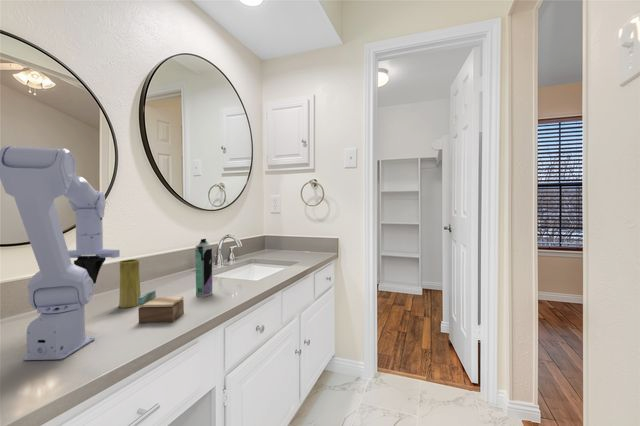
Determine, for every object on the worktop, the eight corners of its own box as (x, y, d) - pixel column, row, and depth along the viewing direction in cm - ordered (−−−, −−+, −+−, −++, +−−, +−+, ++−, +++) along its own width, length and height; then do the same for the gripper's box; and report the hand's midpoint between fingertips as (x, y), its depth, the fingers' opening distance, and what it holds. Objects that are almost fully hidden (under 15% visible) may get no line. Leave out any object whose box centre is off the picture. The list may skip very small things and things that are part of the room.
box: (172, 322, 79) (172, 307, 79) (138, 323, 79) (138, 308, 79) (183, 313, 86) (183, 299, 86) (152, 313, 86) (152, 300, 86)
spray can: (212, 295, 103) (211, 239, 103) (195, 297, 101) (194, 239, 101) (212, 291, 108) (211, 237, 108) (196, 293, 106) (195, 238, 106)
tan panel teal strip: (172, 306, 79) (172, 297, 79) (138, 307, 79) (138, 297, 79) (183, 298, 86) (183, 289, 86) (152, 299, 86) (152, 290, 86)
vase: (130, 308, 90) (129, 262, 90) (113, 307, 92) (112, 262, 91) (145, 302, 96) (145, 259, 96) (130, 301, 97) (129, 258, 97)
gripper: (126, 232, 84) (127, 280, 84) (73, 233, 83) (75, 280, 83) (109, 235, 77) (110, 286, 77) (52, 235, 76) (53, 287, 76)
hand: (90, 284), depth 80 cm, fingers closed
